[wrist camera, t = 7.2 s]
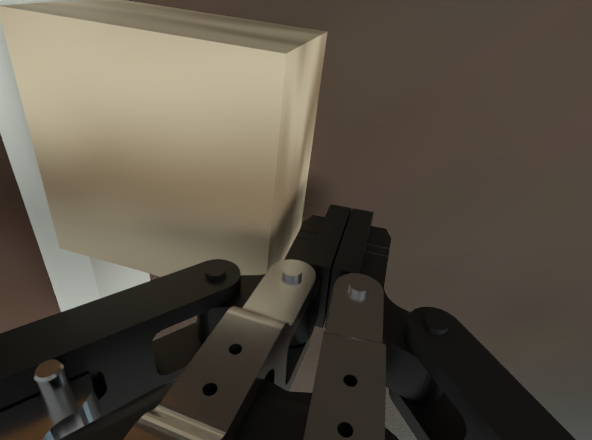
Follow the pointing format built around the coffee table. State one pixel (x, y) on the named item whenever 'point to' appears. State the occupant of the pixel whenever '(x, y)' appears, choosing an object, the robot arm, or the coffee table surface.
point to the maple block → (167, 129)
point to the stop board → (59, 263)
